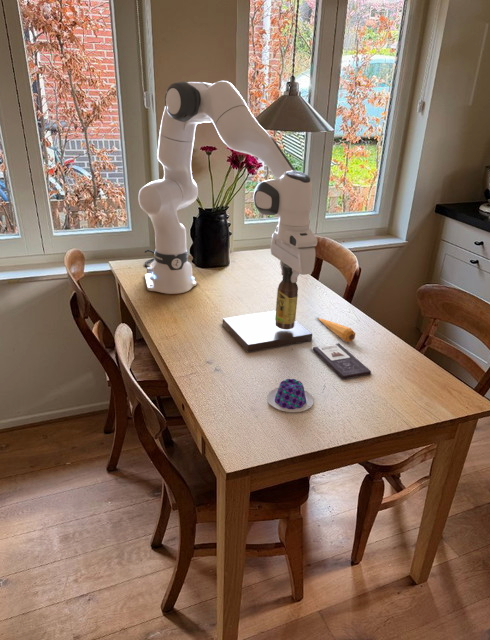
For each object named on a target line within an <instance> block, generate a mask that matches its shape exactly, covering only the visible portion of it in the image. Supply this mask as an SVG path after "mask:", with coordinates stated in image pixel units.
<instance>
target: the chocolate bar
mask: <svg viewBox="0 0 490 640" xmlns="http://www.w3.org/2000/svg"><path fill="white" fill-rule="evenodd" d="M312 351H313V352H314V353H315V354H316V355H317V356H318V357H319V358H320V359H321V360H323V361H324V362H325V364H327V366H329V367H330V369H331V370H333V371H334V373H336V374H337V375H338V377H340V378H341V379H342V380H345V379H352V378H357V377H362V376H367V375H371V372H372V371H371V370H370V369H369V368H368V367H367V366H365V364H363V363H362V362H361V361H360V360H359V359H357V358H356V356H354V355H353V354H352V353H351V352H350V351H348V350H347V349H346V348H345V347H344V346H343V345H341V343H340V342H339V343H332V344H326V345H325V344H324V345H319V346H313V347H312Z"/></svg>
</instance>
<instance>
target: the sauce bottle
mask: <svg viewBox="0 0 490 640" xmlns="http://www.w3.org/2000/svg"><path fill="white" fill-rule="evenodd" d="M292 273H293V272H292V268H291V267H289V266H288V265H286V264H284V265H283V276H282V280H281V281H280V282H279V284H278V287H277V290H276V291H277V292H276V302H275V303H276V304H275V310H276V315H275V320H276V322H275V324H276V326H277V327H279V328H281V329H291V328H293V327H294V322H295V320H296V318H297V317H296V316H297V306H298V296H299V294H298V293H299V286H298V284H297V283H298V282H296V283H292V282H291V281H290V276H291V275H292Z"/></svg>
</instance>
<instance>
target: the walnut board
mask: <svg viewBox="0 0 490 640" xmlns="http://www.w3.org/2000/svg"><path fill="white" fill-rule="evenodd" d="M275 315H276V309H275V310H269V311H262V312H255V313H248V314H242V315H235V316H228V317H222V327H223V328H224V329H226V331H227V332H228V333H229V334H230V335H231V336H232V337H233V338H234V339H235V340H236V341H237V342H238V344H240V346H241V347H243V349H244V350H245V351H246V352H247V353H252V352H257V351H262V350H267V349H268V350H269V349H274V348H280V347H286V346H290V345H291V346H292V345H296V344H303V343H307V342H311V341H312V339H313V333H312V332H311V331H310V330H308V329H307V328H306V327H305V326H303V325H302V324H301V323H300V322H299V321H298V320H297V319H295V322H294V327H293V328H291V329H281V328H279V327H277V326H276V324H275V322H276V320H275Z"/></svg>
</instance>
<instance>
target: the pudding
mask: <svg viewBox="0 0 490 640" xmlns="http://www.w3.org/2000/svg"><path fill="white" fill-rule="evenodd" d="M266 398H267V399H266V400H267V402H268V404H270V406H272V408H275V409H276V410H279V411H283V412H287V413H300V412H304V411H307V410H309V409H310V408H312V407H313V405H314V403H315V399H314V396H313V395H312V394H311V393H310V392H309V391H307V390H305V387H304V384H303V383H302V381H300V380H297V379H295V378H286V379H283V380H281V381H280V383H279V385H278V387H275V388H273V389H271V390H270V391H269V392H268V393H267V396H266Z"/></svg>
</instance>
